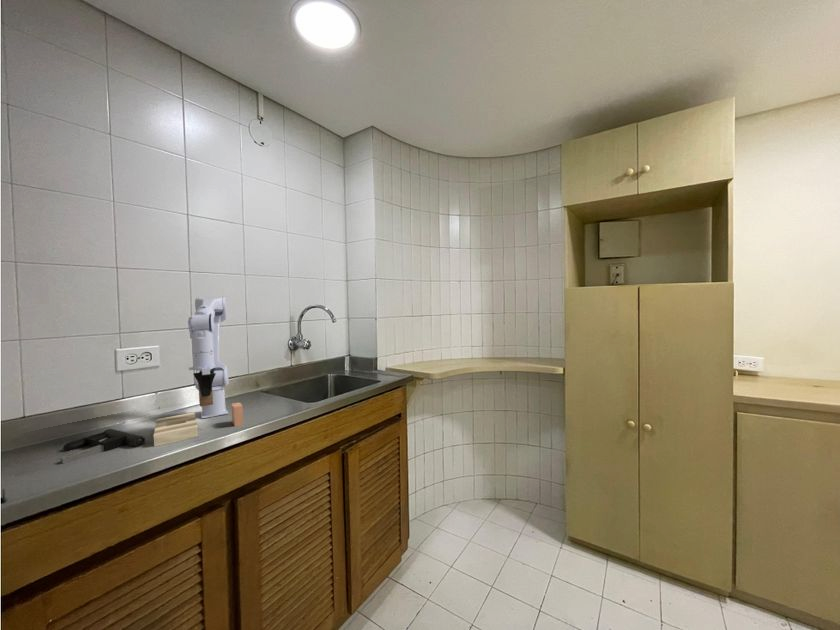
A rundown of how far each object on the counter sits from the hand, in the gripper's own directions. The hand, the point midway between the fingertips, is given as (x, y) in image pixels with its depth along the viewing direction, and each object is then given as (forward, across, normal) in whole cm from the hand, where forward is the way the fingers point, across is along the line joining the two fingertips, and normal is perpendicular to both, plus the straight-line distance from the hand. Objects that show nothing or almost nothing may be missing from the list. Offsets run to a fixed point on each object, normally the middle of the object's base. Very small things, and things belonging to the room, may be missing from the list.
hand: (205, 395), depth 108 cm
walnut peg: (+3, 0, 0) cm, 3 cm away
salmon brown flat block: (+10, +4, +8) cm, 13 cm away
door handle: (+11, 0, -26) cm, 28 cm away
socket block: (+10, 0, -8) cm, 13 cm away
